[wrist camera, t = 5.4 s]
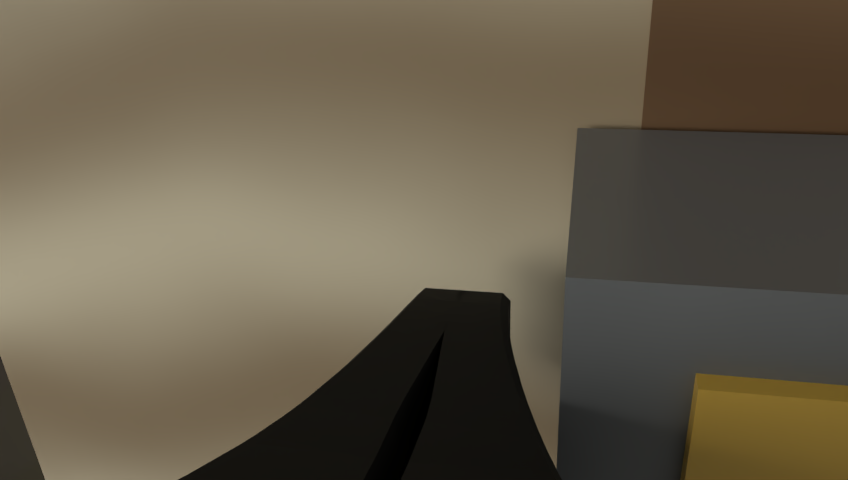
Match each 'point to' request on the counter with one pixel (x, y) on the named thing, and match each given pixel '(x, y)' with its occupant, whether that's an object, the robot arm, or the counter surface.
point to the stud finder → (706, 307)
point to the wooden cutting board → (325, 187)
